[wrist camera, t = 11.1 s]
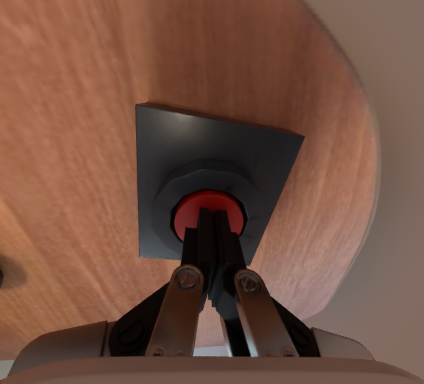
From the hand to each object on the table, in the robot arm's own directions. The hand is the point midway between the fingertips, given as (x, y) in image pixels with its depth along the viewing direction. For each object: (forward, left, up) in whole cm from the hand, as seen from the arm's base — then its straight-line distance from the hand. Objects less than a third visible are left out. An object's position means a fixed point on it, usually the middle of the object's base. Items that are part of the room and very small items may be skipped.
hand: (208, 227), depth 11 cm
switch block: (0, 0, -4) cm, 4 cm away
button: (0, 0, -2) cm, 2 cm away
